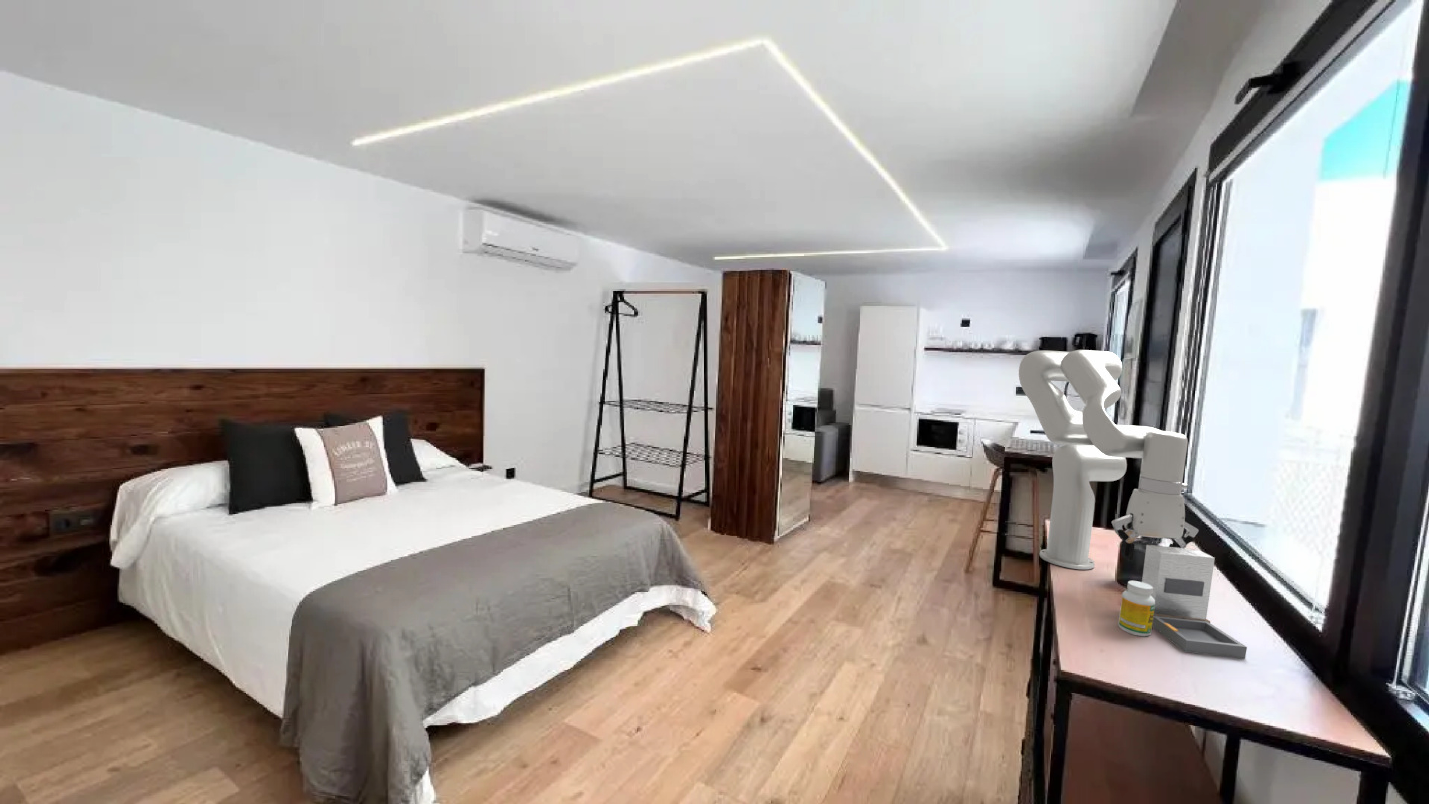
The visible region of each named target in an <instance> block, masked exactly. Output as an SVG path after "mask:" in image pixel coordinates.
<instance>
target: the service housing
mask: <svg viewBox="0 0 1429 804" xmlns="http://www.w3.org/2000/svg"><path fill="white" fill-rule="evenodd" d="M1145 548H1146V549H1145V554H1144V555H1145V556H1144V563H1143V571H1142V579H1141V582H1143V583H1146V584H1149V585H1151V586H1152V587H1153V592H1152V594H1151V595H1150V596H1152V597H1153V598H1154V600H1155V609H1154V615H1153V616H1160V617H1170V618H1179V619H1189V620H1198V621H1207V622H1209V623H1210V624H1211V620H1209V619H1207V615H1208V609H1209V602H1210V595H1211V594H1210V593H1211V589H1212V580H1213V574H1214V573H1213V572H1214V566H1215V558H1216V557H1215V556H1214V557H1213V556H1212V555H1210V554H1209V553H1206V552H1203V551H1201V550H1200V549H1196V548H1176V547H1169V546H1163V545H1162V546H1161V545H1154V544H1153V545H1152V544H1151V545H1150V544H1146V547H1145Z"/></svg>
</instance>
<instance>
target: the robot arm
mask: <svg viewBox="0 0 1429 804" xmlns="http://www.w3.org/2000/svg"><path fill="white" fill-rule="evenodd" d="M1018 367H1019V368H1018V378H1019V379H1018V380H1019V383H1020V386H1021V388H1022V390H1023V393H1024V394H1025V395H1026V397H1027V399H1028V400H1029V402H1030V403H1031V406H1032V407H1033V409H1034V411H1035V415H1036V417H1037V419H1038V420H1039V423H1040V425H1041V428H1042V430H1043V432H1044V435H1045V436H1046V437H1047V439H1048V440H1049V441H1050V443H1052V444H1055V445H1058V446H1059V445H1062V446H1061V447H1059V448H1057V449H1056V450H1055V451H1054V453H1053V456H1052V461H1051V462H1052V466H1051V467H1052V472H1053V475H1052V476H1053V489H1052V490H1053V491H1052V498H1051V499H1052V501H1051V509H1050V518H1049V527H1048V534H1047V535H1048V536H1047V539H1046V542H1047V544H1046V548H1045V549H1041V550H1040V551H1039V557H1040V558H1041V559H1042V560H1043V561H1045V562H1048V563H1051V564H1052V565H1056V566H1060V567H1062V568H1067V569H1074V570H1091V569H1094V568H1095V564H1096V563H1095V561H1094V560H1093V559H1092V558H1090V557H1089V554H1090V547H1091V546H1090V545H1091V539H1092V538H1091V537H1092V530H1093V521H1094V514H1095V513H1094V512H1095V503H1096V499H1095V494H1094V491H1093V489H1092V487H1091V484H1090V482H1114V481H1117V480H1120V479H1121V478H1122V477H1124V475H1125V474H1126V472H1127V467H1128V466H1127V459H1126V458H1132V459H1141V464H1140V472H1139V481H1138V488H1134V489H1133V490H1132V494H1131V496H1130V498H1129V501H1128V504H1127V508H1126V513H1125V515H1124V516H1121V517H1118V518H1115V519H1113V520H1112V521H1111V524H1112V527H1113V529H1114V532H1115V534H1116V535H1117V536H1118V537H1119V539H1120V540H1122V541H1121V547H1120V554H1121V557H1122V558H1124V559H1125V560H1127V561H1128V562H1129V561H1130V562H1132V561H1133V560H1134V554H1135V553H1134V552H1135V543H1133V542H1134V541H1135V540H1136V539H1137V538H1139V537H1147V538H1157V539H1166V540H1167V539H1168V540H1170V542H1172V543H1169V545H1168V547H1176V548H1186V547H1187V545H1189V544H1190V543H1191V542H1192V541H1194V538H1195V537H1196V535H1197V534H1198V533H1199V528H1197V527H1195V526H1194V525H1192V524H1190V523H1188V522H1187V521H1185V518H1186V510H1185V509H1186V507H1185V498H1184V495H1182V491H1183V490H1188V484H1187V483H1184V481H1183V479H1184V473H1185V465H1186V456H1187V452H1188V451H1187V449H1188V442H1189V441H1188V437H1187V436H1186V435H1185V434H1183V433H1179V432H1175V431H1167V430H1161V429H1158V428H1156V427H1155V428H1154V427H1152V426H1145V425H1130V424H1128V425H1127V424H1126V425H1125V424H1115V422H1113V421H1112V419H1111V418H1110V416H1109V415H1108V413H1107V412H1106V409H1108V408H1110V407H1111V406H1113V405H1115V403H1117V401H1119V400H1120V398H1121V395H1122V389H1121V387H1120V386H1119V384H1118V383H1117V382H1116V381H1117V380H1118V379H1119V378H1120V377H1121V375H1122V372H1123V363H1122V361H1121V360H1120V358H1119V357H1118V355H1116V354H1115V353H1113V352H1112V351H1111V352H1110V351H1105V350H1092V349H1090V350H1089V349H1077V350H1072V351H1059V350H1035V351H1031V352H1029V353H1027V354H1026V355H1024V356H1023V358H1022V359H1021V361H1020V363H1019V366H1018ZM1052 381H1054V382H1069V384H1070V386H1071V387H1072V388H1073V390H1074V392H1076V394H1077V395H1078V397H1079V398H1080V399H1081V401H1082V403H1083V404H1084V407H1083V408H1082V411H1081V410H1076V409H1073V407H1072V406H1071V404H1070V403H1069V400H1068V398H1067V396H1066V395H1065V394H1064V392H1063V391H1062V390H1061V389H1060V388H1059V387H1058V386H1057V385H1055V384H1053V382H1052ZM1123 526H1124V528H1125V530H1124V529H1123ZM1184 530H1185V531H1186V532H1185V533H1184Z"/></svg>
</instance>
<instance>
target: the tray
mask: <svg viewBox="0 0 1429 804" xmlns="http://www.w3.org/2000/svg"><path fill="white" fill-rule="evenodd" d="M1152 628H1153V629H1154V630H1156V631H1157V632H1159V633H1160V634H1161V635H1162V636H1164V637H1165V638H1166V639H1168V640H1169V641H1171V643H1173V644H1174V645H1175V646H1177V647H1178V648H1179V649H1180V650H1182V651H1183V652H1185V653H1194V654H1202V655H1203V654H1204V655H1212V656H1221V657H1230V658H1237V659H1238V658H1240V659H1246V656H1247V654H1246V653H1247V651H1248V650H1247V649H1248V646H1246V645H1245V644H1243V643H1241V642H1240V641H1238V639H1235V638H1234V637H1233V636H1231V635H1229V634H1227V633H1226V632H1224V631H1223V630H1222V629H1220V628H1218V627H1217V626H1215V625H1213V624H1212V623H1211V622H1210V623H1209V622H1207V621H1198V620H1189V619H1179V618H1170V617H1160V616H1153V623H1152Z"/></svg>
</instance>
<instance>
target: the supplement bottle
mask: <svg viewBox="0 0 1429 804" xmlns="http://www.w3.org/2000/svg"><path fill="white" fill-rule="evenodd" d="M1126 588H1127V590H1124V591H1123V592H1122V594H1121V600H1120V601H1121V602H1120V609H1119V616H1118V625H1117V626H1118V627H1119V628H1120V629H1121V630H1122V631H1123V632H1126V633H1128V634H1131V635H1134V636H1137V635H1138V636H1137V637H1148V636H1150V635H1151V634H1152V628H1153V627H1152V623H1153V615H1154V609H1155V600H1154V598H1153V597H1152V596H1150V595H1151V594H1152V592H1153V587H1152V586H1151V585H1149V584H1146V583H1143V582H1142V581H1140V580H1139V581H1137V580H1128V581H1127V586H1126Z"/></svg>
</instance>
